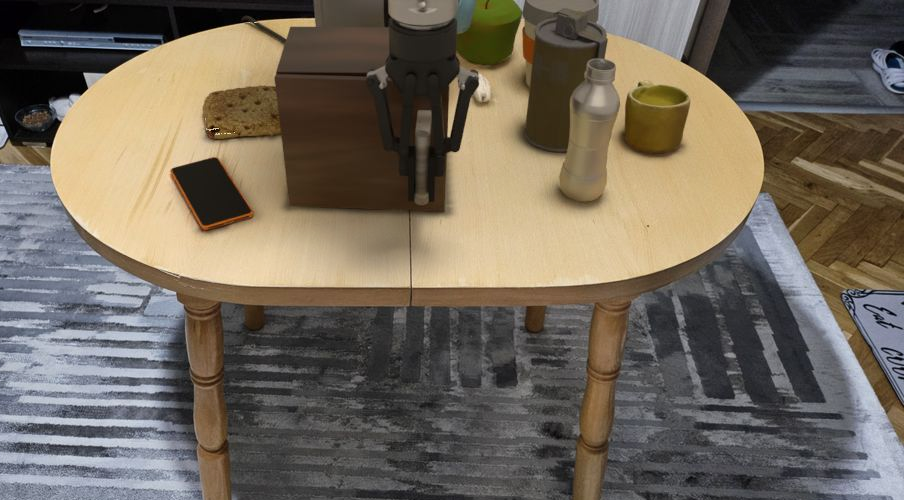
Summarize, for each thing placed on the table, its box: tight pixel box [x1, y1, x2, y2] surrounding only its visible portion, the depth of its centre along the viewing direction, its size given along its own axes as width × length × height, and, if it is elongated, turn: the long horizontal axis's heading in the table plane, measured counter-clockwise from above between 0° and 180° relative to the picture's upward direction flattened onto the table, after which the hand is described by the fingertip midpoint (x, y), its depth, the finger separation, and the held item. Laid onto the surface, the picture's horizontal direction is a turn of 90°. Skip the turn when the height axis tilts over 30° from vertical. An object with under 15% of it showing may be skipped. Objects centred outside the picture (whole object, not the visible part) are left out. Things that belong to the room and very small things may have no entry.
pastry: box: [202, 85, 281, 140], centre depth 133 cm, size 17×17×3 cm
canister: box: [523, 8, 609, 153], centre depth 122 cm, size 11×10×20 cm
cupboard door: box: [274, 73, 450, 213], centre depth 105 cm, size 8×22×20 cm, turn 86°
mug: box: [624, 79, 691, 154], centre depth 126 cm, size 12×10×10 cm
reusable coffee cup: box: [521, 0, 600, 88], centre depth 138 cm, size 13×13×15 cm
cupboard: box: [275, 26, 389, 77], centre depth 114 cm, size 14×22×20 cm, turn 89°
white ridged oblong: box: [473, 73, 492, 103], centre depth 138 cm, size 3×8×3 cm, turn 4°
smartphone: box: [169, 156, 254, 231], centre depth 116 cm, size 8×17×1 cm, turn 28°
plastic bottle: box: [558, 58, 621, 202], centre depth 110 cm, size 6×7×20 cm
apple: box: [456, 0, 523, 67], centre depth 147 cm, size 12×12×11 cm
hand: (421, 195), depth 103 cm, fingers closed on cupboard door, 2 cm apart
